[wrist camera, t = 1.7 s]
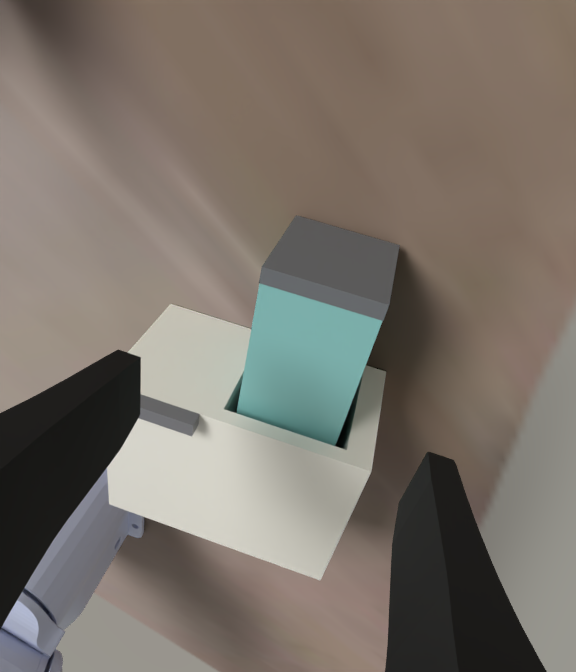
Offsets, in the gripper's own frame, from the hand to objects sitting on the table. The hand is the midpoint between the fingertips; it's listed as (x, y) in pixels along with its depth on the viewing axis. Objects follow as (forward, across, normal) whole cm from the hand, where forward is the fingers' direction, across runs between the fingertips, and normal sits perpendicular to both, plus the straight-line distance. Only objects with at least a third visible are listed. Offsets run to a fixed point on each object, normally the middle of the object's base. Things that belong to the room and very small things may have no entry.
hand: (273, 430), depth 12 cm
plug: (+10, 0, +4) cm, 10 cm away
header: (+9, +2, +9) cm, 13 cm away
